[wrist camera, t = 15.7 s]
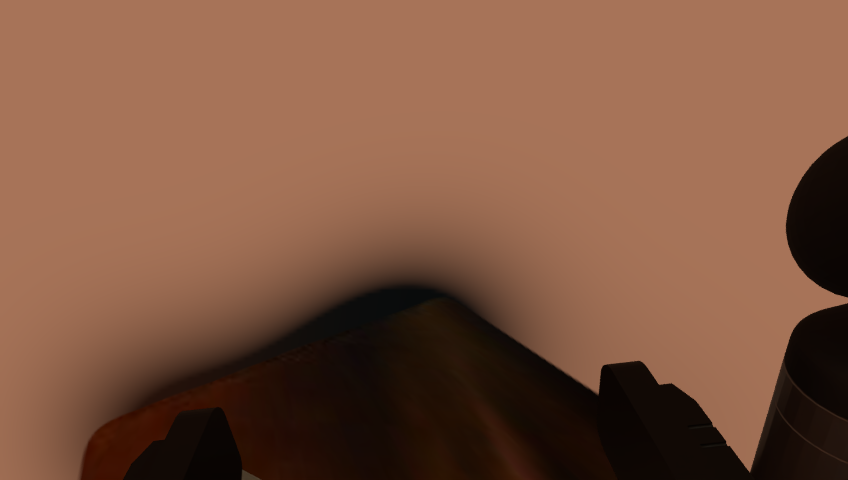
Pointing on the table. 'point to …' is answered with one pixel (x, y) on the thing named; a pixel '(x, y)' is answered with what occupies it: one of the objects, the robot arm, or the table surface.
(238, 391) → the table surface
